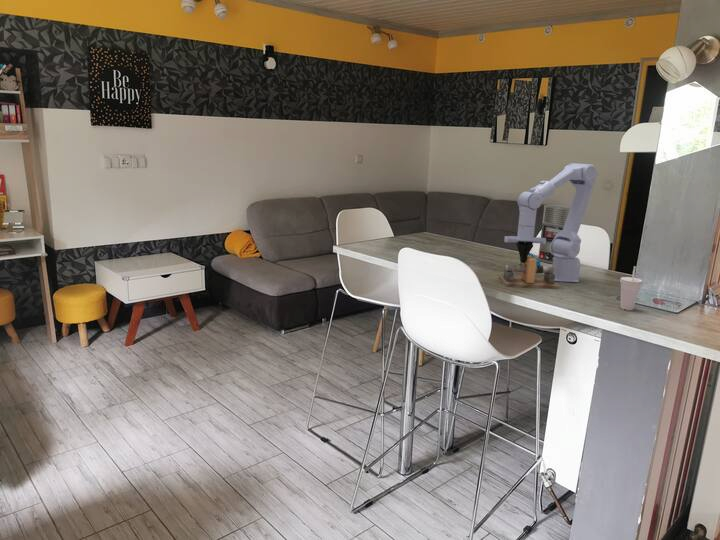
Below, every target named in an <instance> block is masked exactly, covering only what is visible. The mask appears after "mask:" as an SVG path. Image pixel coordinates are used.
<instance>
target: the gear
mask: <svg viewBox="0 0 720 540" xmlns="http://www.w3.org/2000/svg"><path fill="white" fill-rule="evenodd" d="M528 255H530V256H532V257H533V258H535V259H536V260H537V258H538V257H536V256H535V255H534V254H533V253H532V252H529V254H528ZM534 256H535V257H534ZM518 265H522V263H521V262H520V261H519V262H518ZM536 266H541V261H538V260H537V262H536Z"/></svg>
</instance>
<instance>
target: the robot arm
mask: <svg viewBox="0 0 720 540" xmlns="http://www.w3.org/2000/svg"><path fill="white" fill-rule="evenodd" d="M597 177H598V170H597V168H596V166H595V165H594V164H592V163H588V164H587V163H576V162H570V163H569V164H568V165H566V166H564V168H563V170H562V171H560V172H559V173H558V174H556V175H555V176H553V177H552V178H551V179H550V180H541V181H539V184H537V185H536V186H534V187H531V188H530V189H529V191H523V192H521V193H520V194H519V196H518V198H517V199H516V201H517V205H518V211H519V216H518V223H517V224H518V226H517V236H515V235H509V236H508V235H507V236H506V235H505V236H504V238H503V239H504V240H503V241H504V243H515V244H516V247H517V250H518V254H519V263H520V262H521V264H523V263H525V261H526V258H527V256H528V254H529V253H531V251H532V249H533V248H534V244H540V243H541V244H546V239H545V238H541V237H535V229H536V228H535V227H536V220H537V211H538V209H539V208H540V207H541V205H542V202H544V201H545V200H546V199H548V198H549V197H550V196H552V195H554V194H555V190H556V189H557V188H559V187H560V186H563V185H564V184H565V183H567V182H570V183H571V185H572V186H573V187H574V188H575V190H576V191H575V194H574V197H573V199H572V202H571V205H570V207H571V208H570V210H569V213H568V216H567V219H566V222H565V225H564V228H563V230H562V231H560V232H558V233H557V234H556V236H555V238H554V239H553V241H552V242H551V245H550V249H551V251H552V252H553V255H554V259H553V264H552V267H554V273H553V274H554V275H555V280H554V282H566V283H567V282H568V283H579V282H580V280H579V276H580V270H581V261H580V258H579V257H577V256H578V255H579V254H580V251H581V243H582V239H581V238H580V236H579V234H578V233H579V230H580V227H581V225H582V222H583V219H584V216H585V213H586V210H587V208H588V204H589V203H590V202H589V201H590V199H591V196H592V193H593V191H594V184H595V182H596V179H597ZM566 239H569V240H566ZM570 240H571V241H570Z"/></svg>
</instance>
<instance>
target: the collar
mask: <svg viewBox="0 0 720 540" xmlns="http://www.w3.org/2000/svg"><path fill="white" fill-rule="evenodd" d="M537 261H538V260H536V259H535V257H534V258H533V257H532V256H530V255H528V256H527V258H526V261H525V263H521V265H525V266H527V270H526V272H520V273H521V275H520V277H521V278H522V279H523V280H524V281H525V282H527V283H534V279H535V278H536V273H535V270H536V262H537Z"/></svg>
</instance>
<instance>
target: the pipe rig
mask: <svg viewBox="0 0 720 540" xmlns="http://www.w3.org/2000/svg"><path fill="white" fill-rule="evenodd" d="M526 270H527V266H525V265H522V264H520V265H519V264H506V265H505V268H504V269H503V275H499V276H498V279H499V280H500V282H502V284H503V285H504V286H505V287H508V288H509V287H511V288H513V287H515V288H531V289H535V288H536V289H552V290H553V289H555V290H559V289H560V285H559V284H558V283H556V281H554V280H555V275H554V274H553V273H554V267H553V266H543V265H540V266H536V270H535V274H543V277H535V279H534V283H527V282H525V281H524V280H523V279H522V278H521V276H514V272H518V273H522V272H526Z"/></svg>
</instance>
